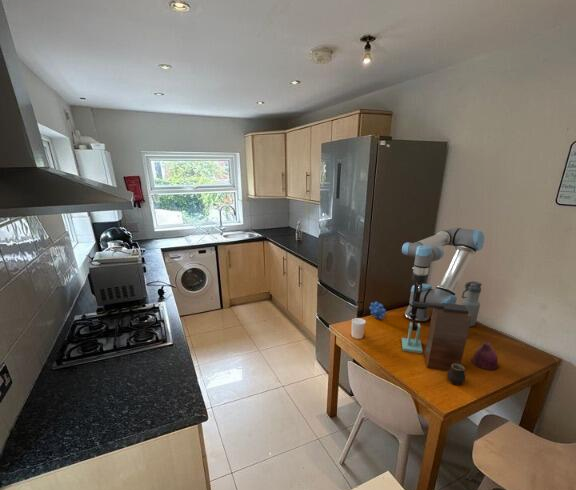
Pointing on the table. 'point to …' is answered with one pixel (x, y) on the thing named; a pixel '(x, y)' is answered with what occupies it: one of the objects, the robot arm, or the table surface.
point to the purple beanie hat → (485, 357)
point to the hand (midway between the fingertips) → (413, 313)
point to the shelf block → (446, 339)
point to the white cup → (358, 328)
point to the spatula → (444, 307)
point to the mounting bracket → (412, 341)
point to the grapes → (377, 310)
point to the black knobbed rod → (413, 316)
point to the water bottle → (472, 299)
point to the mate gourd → (456, 374)
